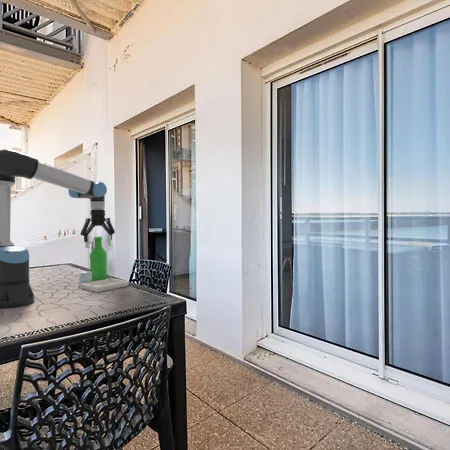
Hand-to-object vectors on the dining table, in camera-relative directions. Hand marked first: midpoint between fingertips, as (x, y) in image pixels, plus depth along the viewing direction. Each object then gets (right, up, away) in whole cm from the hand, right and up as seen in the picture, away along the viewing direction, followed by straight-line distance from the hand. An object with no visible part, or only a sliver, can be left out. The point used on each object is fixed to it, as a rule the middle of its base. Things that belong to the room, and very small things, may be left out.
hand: (98, 247), depth 183 cm
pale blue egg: (-2, -20, -13) cm, 23 cm away
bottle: (0, -19, 0) cm, 19 cm away
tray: (+10, -20, -17) cm, 28 cm away
